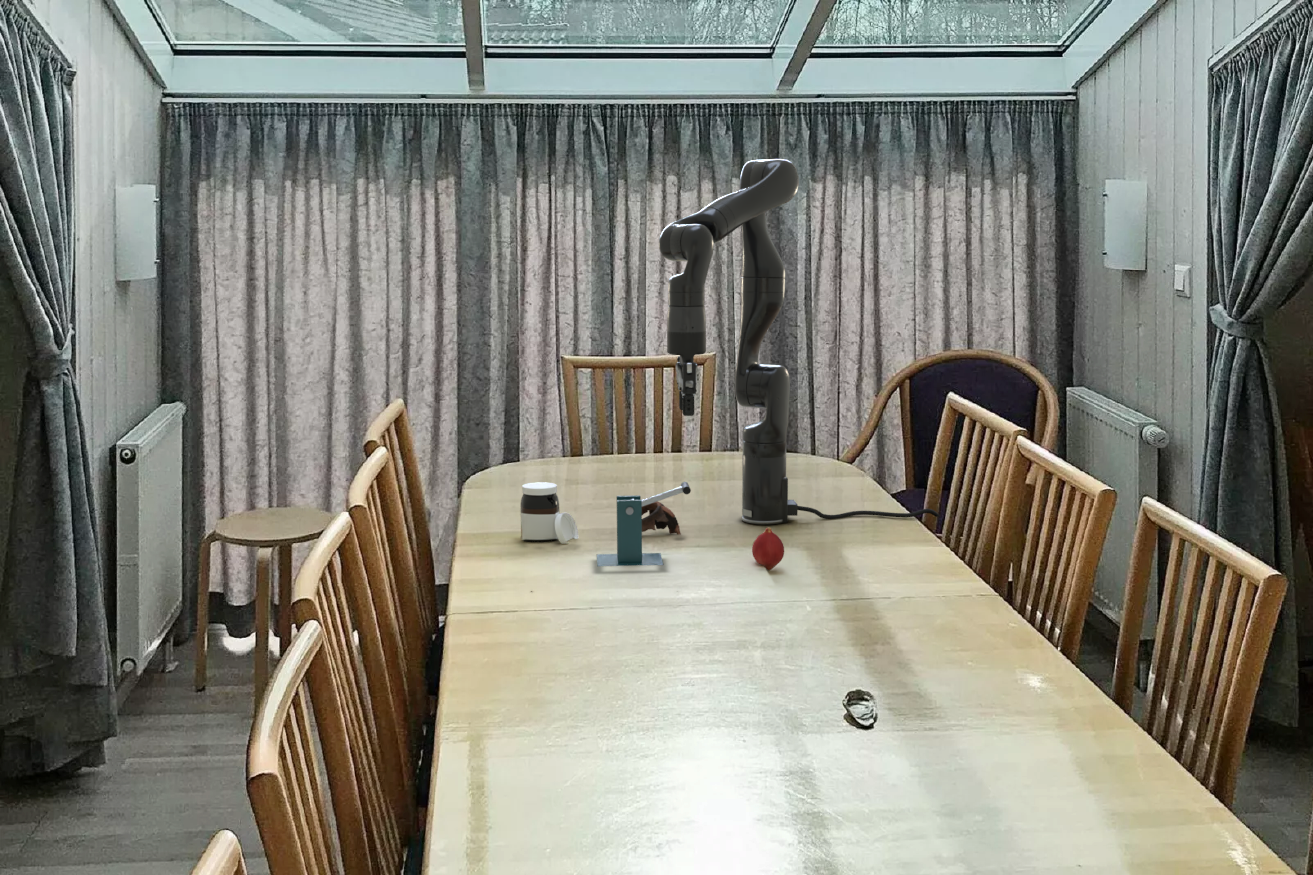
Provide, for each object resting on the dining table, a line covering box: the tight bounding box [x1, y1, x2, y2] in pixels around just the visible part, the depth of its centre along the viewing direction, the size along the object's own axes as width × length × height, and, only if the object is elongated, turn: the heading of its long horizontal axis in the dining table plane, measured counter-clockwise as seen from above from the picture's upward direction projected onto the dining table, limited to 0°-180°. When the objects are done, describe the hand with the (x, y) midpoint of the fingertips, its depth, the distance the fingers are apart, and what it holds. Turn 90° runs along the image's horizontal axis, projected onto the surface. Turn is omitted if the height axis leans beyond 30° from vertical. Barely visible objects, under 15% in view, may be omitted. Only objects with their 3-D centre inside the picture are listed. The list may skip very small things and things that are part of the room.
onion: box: [751, 527, 785, 571], centre depth 251 cm, size 6×6×8 cm
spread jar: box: [519, 481, 579, 545], centre depth 272 cm, size 12×11×12 cm
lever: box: [630, 481, 692, 506], centre depth 253 cm, size 13×5×2 cm, turn 91°
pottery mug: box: [642, 501, 682, 536], centre depth 279 cm, size 12×10×8 cm
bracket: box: [596, 494, 664, 567], centre depth 254 cm, size 12×9×13 cm
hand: (686, 412), depth 268 cm, fingers open, 8 cm apart
